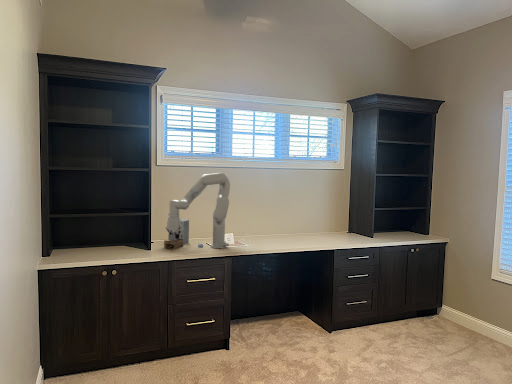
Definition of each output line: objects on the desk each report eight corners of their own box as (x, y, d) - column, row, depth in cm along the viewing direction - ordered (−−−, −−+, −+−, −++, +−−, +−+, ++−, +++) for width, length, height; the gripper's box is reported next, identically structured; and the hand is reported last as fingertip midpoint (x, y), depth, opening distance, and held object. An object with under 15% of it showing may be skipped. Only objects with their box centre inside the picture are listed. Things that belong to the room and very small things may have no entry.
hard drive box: (168, 242, 319) (168, 218, 318) (174, 241, 326) (174, 217, 325) (183, 245, 312) (183, 220, 311) (189, 243, 319) (189, 219, 318)
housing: (174, 240, 297) (174, 233, 297) (168, 240, 299) (168, 232, 298) (179, 238, 305) (179, 231, 304) (173, 238, 306) (173, 231, 306)
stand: (183, 246, 306) (183, 238, 306) (175, 249, 295) (175, 241, 294) (172, 245, 309) (172, 237, 309) (164, 248, 298) (164, 240, 297)
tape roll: (203, 246, 308) (203, 244, 307) (201, 247, 304) (201, 244, 304) (199, 246, 309) (199, 243, 308) (197, 247, 305) (197, 244, 305)
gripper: (162, 215, 299) (162, 238, 301) (181, 216, 294) (181, 240, 295) (167, 214, 306) (167, 236, 308) (186, 215, 301) (186, 238, 302)
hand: (174, 238), depth 301 cm, fingers closed on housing, 5 cm apart
